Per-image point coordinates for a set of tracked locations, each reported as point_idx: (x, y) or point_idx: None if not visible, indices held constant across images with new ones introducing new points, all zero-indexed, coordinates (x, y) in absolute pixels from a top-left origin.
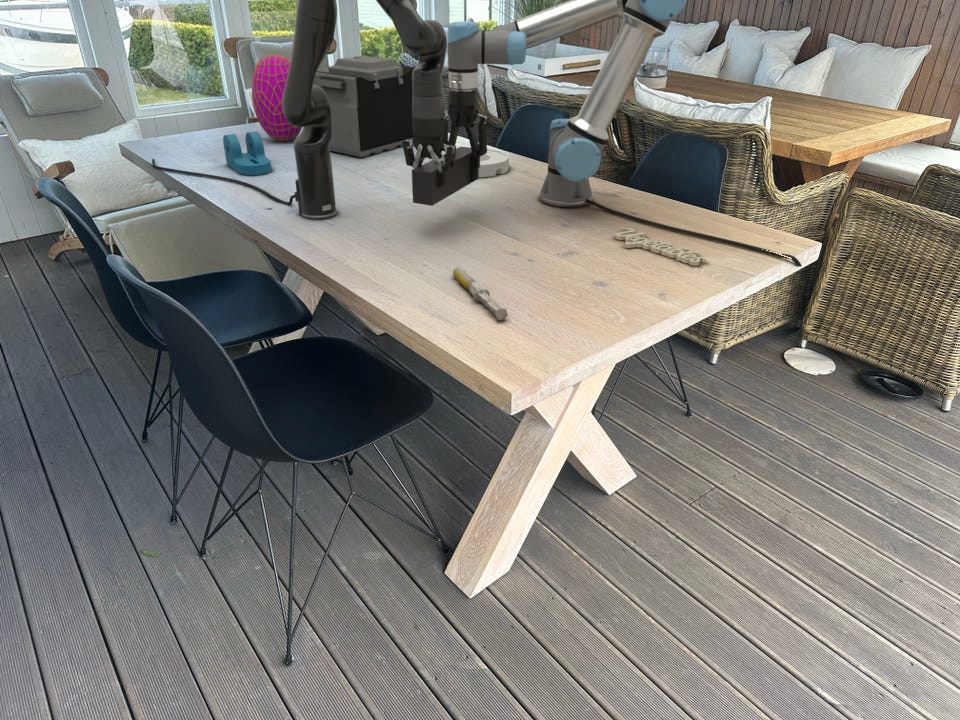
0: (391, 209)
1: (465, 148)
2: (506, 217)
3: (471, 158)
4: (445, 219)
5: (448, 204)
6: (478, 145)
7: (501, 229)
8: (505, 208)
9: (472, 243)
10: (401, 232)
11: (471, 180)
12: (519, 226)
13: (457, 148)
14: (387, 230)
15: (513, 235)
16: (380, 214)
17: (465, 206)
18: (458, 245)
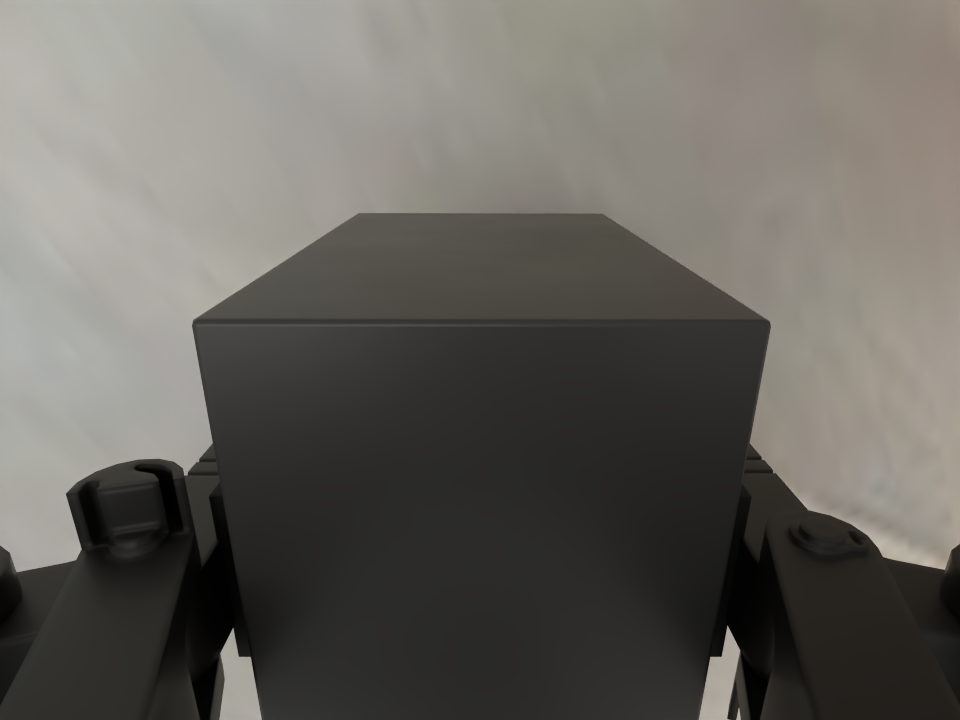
0: (14, 429)
1: (424, 461)
2: (800, 227)
3: None
4: None
5: (270, 144)
6: (946, 714)
7: (819, 449)
8: (740, 12)
9: (721, 670)
10: None
11: None
12: (923, 355)
13: (250, 543)
14: (253, 693)
15: (909, 503)
16: (36, 529)
17: (415, 127)
18: None
